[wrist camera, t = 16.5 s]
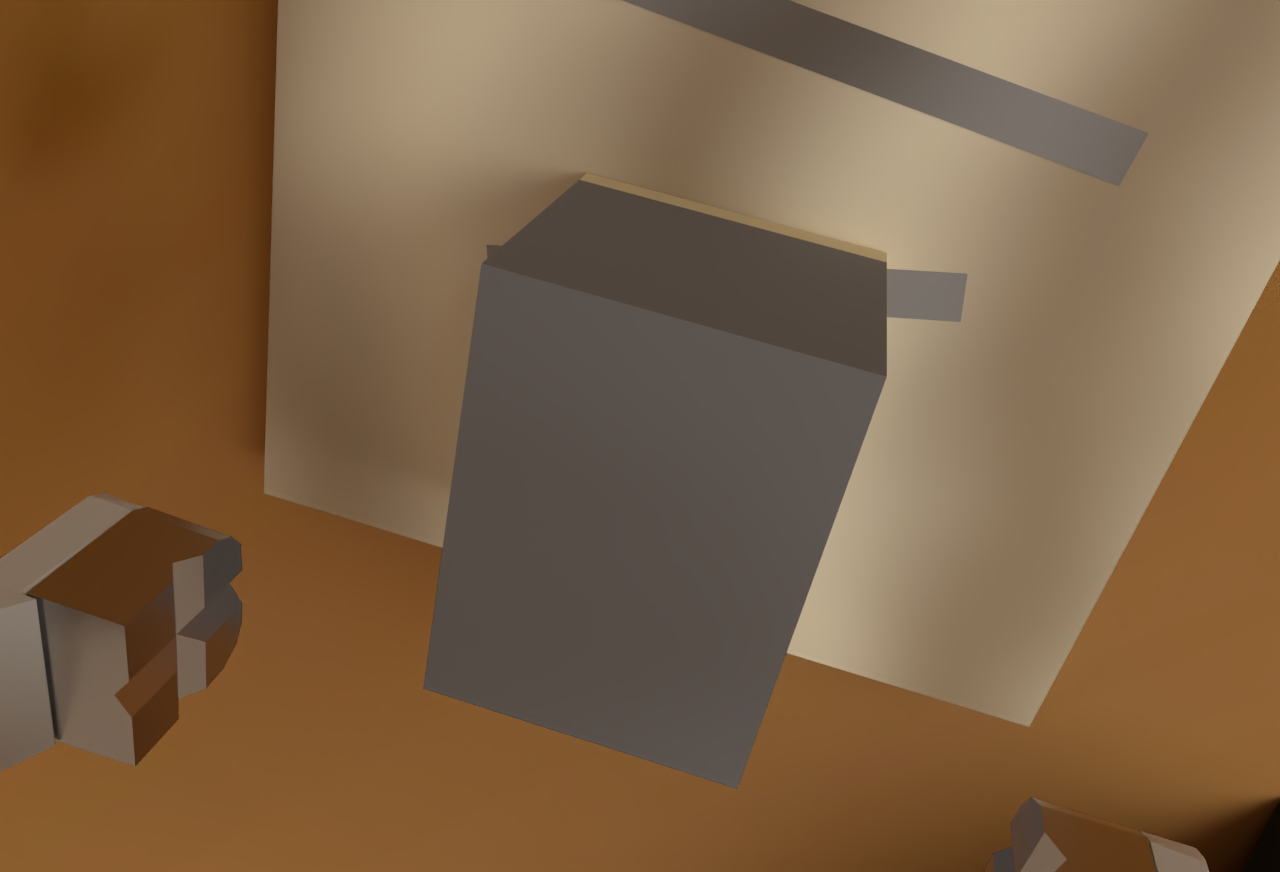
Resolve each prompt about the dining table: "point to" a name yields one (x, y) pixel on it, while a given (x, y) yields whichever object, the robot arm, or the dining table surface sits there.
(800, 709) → the dining table surface
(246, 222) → the dining table surface
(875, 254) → the block
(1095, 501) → the board
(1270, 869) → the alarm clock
